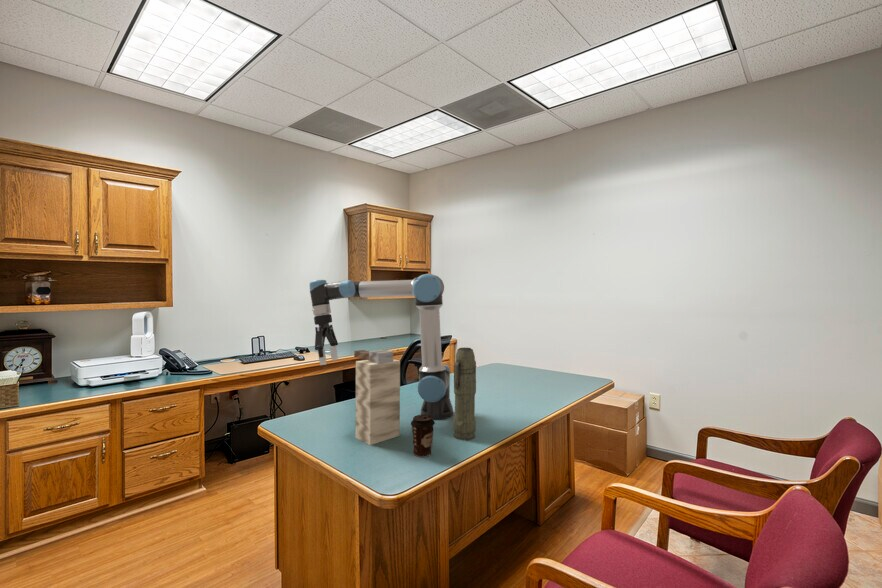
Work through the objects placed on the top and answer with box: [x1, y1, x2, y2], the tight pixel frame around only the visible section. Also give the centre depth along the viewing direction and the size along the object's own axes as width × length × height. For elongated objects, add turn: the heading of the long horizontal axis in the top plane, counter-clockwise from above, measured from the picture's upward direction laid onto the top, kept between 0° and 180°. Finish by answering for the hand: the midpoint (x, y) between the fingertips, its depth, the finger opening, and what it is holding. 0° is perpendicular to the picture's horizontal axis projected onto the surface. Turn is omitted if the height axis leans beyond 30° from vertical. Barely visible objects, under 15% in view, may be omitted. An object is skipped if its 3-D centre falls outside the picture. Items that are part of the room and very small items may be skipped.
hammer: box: [353, 349, 394, 364], centre depth 165 cm, size 19×7×4 cm, turn 44°
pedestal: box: [354, 358, 401, 446], centre depth 162 cm, size 10×14×30 cm
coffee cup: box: [410, 414, 436, 458], centre depth 146 cm, size 9×8×13 cm
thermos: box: [452, 347, 477, 441], centre depth 163 cm, size 9×12×35 cm
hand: (329, 362), depth 182 cm, fingers open, 13 cm apart
